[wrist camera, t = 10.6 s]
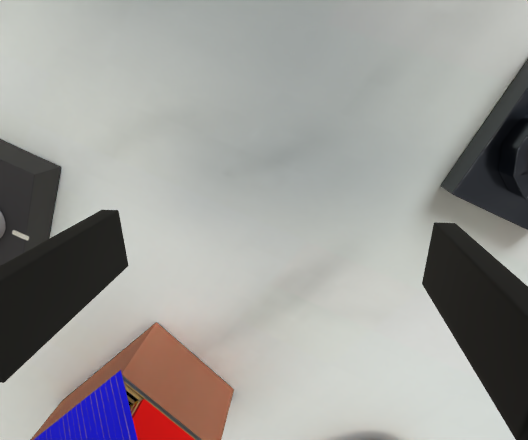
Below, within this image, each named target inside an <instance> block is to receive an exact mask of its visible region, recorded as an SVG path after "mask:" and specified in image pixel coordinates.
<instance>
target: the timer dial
mask: <svg viewBox="0 0 528 440" xmlns="http://www.w3.org/2000/svg"><path fill="white" fill-rule="evenodd" d="M4 232H5V220H4V217H3V215H2V213H1V211H0V238H1V237H2V236H3V234H4Z"/></svg>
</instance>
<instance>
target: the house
mask: <svg viewBox="0 0 528 440" xmlns="http://www.w3.org/2000/svg"><path fill="white" fill-rule="evenodd" d="M124 384H125V385H124ZM126 385H127V386H128V387H129V388H130V389H129V388H128V387H127V386H126ZM132 390H133V391H134V392H135V393H134V392H133V391H132ZM126 391H127V392H129V393H130V394H131V395H132V396H134V397H135V398H136V399H137V401H136V402H135V401H134V400H133V399H131V398H130V397H129V396H128V395H127V394H126ZM233 391H234V389H233V388H231V387H230V386H229V385H228V384H227V383H226V382H225V381H223V380H222V379H221V378H220V377H219V376H218V375H217V374H215V373H214V372H213V371H212V370H211V369H210V368H208V367H207V366H206V365H205V364H204V363H203V362H202V361H200V360H199V359H198V358H197V357H196V356H195V355H194V354H192V353H191V352H190V351H189V350H188V349H187V348H186V347H184V346H183V345H182V344H181V343H180V342H179V341H177V340H176V339H175V338H174V337H173V336H172V335H171V334H169V333H168V332H167V331H166V330H165V329H164V328H163V327H161V326H160V325H159V324H158V323H157V322H156V323H155V324H154V325H153V326H151V327H150V328H149V329H148V330H147V331H145V332H144V333H143V334H142V335H141V336H139V337H138V338H137V339H136V340H135V341H133V342H132V343H131V344H130V345H129V346H127V347H126V348H125V349H124V350H123V351H121V352H120V353H119V354H118V355H117V356H115V357H114V358H113V359H112V360H111V361H109V362H108V363H107V364H106V365H105V366H103V367H102V368H101V369H100V370H99V371H97V372H96V373H95V374H94V375H93V376H91V377H90V378H89V379H88V380H87V381H85V382H84V383H83V384H82V385H81V386H79V387H78V388H77V389H76V390H75V391H73V392H72V393H71V394H70V395H69V396H67V397H66V398H65V399H64V400H63V401H62V402H61V403H60V404H59V405H58V407H57V408H56V409H55V410H54V411H53V413H52V414H51V415H50V416H49V418H48V419H47V420H46V421H45V423H44V424H43V425H42V426H41V428H40V429H39V430H38V431H37V432H36V434H35V435H34V436H33V437H32V439H31V440H221V438H222V434H223V430H224V426H225V422H226V418H227V414H228V410H229V407H230V403H231V399H232V395H233ZM137 394H138V395H139V396H140V397H139V396H138V395H137ZM142 398H143V399H142ZM128 401H129V402H131V403H132V404H131V405H129V402H128ZM131 406H132V407H131Z"/></svg>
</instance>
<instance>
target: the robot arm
mask: <svg viewBox="0 0 528 440" xmlns="http://www.w3.org/2000/svg"><path fill="white" fill-rule="evenodd" d="M126 267H128V261H127V256H126V250H125V245H124V239H123V234H122V228H121V223H120V217H119V212H118V210H101V211H99V212H97V213H95V214H94V215H92V216H90V217H88V218H86V219H85V220H83V221H81V222H79V223H77V224H75V225H74V226H72V227H70V228H68V229H66V230H65V231H63V232H61V233H59V234H57V235H55V236H54V237H52V238H50V239H48V240H46V241H45V242H43V243H41V244H39V245H37V246H35V247H34V248H32V249H30V250H28V251H26V252H25V253H23V254H21V255H19V256H17V257H15V258H14V259H12V260H10V261H8V262H6V263H5V264H3V265H1V266H0V382H3V383H4V382H5V381H6V380H7V379H8V378H9V377H10V376H12V375H13V374H14V373H15V372H16V371H17V370H18V369H19V368H20V367H21V366H22V365H23V364H24V363H25V362H26V361H27V360H29V359H30V358H31V357H32V356H33V355H34V354H35V353H36V352H37V351H38V350H39V349H40V348H41V347H42V346H43V345H45V344H46V343H47V342H48V341H49V340H50V339H51V338H52V337H53V336H54V335H55V334H56V333H57V332H58V331H59V330H60V329H62V328H63V327H64V326H65V325H66V324H67V323H68V322H69V321H70V320H71V319H72V318H73V317H74V316H75V315H76V314H78V313H79V312H80V311H81V310H82V309H83V308H84V307H85V306H86V305H87V304H88V303H89V302H90V301H91V300H92V299H93V298H95V297H96V296H97V295H98V294H99V293H100V292H101V291H102V290H103V289H104V288H105V287H106V286H107V285H108V284H109V283H111V282H112V281H113V280H114V279H115V278H116V277H117V276H118V275H119V274H120V273H121V272H122V271H123V270H124V269H125V268H126ZM422 284H423V286H424V288H425V289H426V291H427V293H428V294H429V296H430V298H431V299H432V301H433V303H434V304H435V306H436V308H437V309H438V311H439V313H440V314H441V316H442V318H443V319H444V321H445V323H446V324H447V326H448V328H449V329H450V331H451V333H452V334H453V336H454V338H455V339H456V341H457V343H458V344H459V346H460V348H461V349H462V351H463V352H464V354H465V356H466V357H467V359H468V361H469V362H470V364H471V366H472V367H473V369H474V371H475V372H476V374H477V376H478V377H479V379H480V381H481V382H482V384H483V386H484V387H485V389H486V391H487V392H488V394H489V396H490V397H491V399H492V401H493V402H494V404H495V406H496V407H497V409H498V411H499V412H500V414H501V416H502V417H503V419H504V421H505V422H506V424H507V426H508V427H509V429H510V431H511V432H512V434H513V436H514V437H515V439H516V440H528V286H526V285H525V284H524V283H523V282H522V281H521V280H520V279H518V278H517V277H516V276H515V275H514V274H513V273H511V272H510V271H509V270H508V269H507V268H506V267H505V266H503V265H502V264H501V263H500V262H499V261H498V260H497V259H495V258H494V257H493V256H492V255H491V254H490V253H489V252H487V251H486V250H485V249H484V248H483V247H482V246H481V245H479V244H478V243H477V242H476V241H475V240H474V239H473V238H471V237H470V236H469V235H468V234H467V233H466V232H464V231H463V230H462V229H461V228H460V227H459V226H458V225H456V224H455V223H434V226H433V231H432V236H431V241H430V246H429V251H428V257H427V262H426V267H425V272H424V277H423V282H422Z"/></svg>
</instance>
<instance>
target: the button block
mask: <svg viewBox="0 0 528 440" xmlns="http://www.w3.org/2000/svg"><path fill="white" fill-rule="evenodd" d="M441 187H443V188H444V189H445V190H447V191H448V192H450V193H451V194H453V195H455V196H457V197H459V198H461V199H464V200H466V201H468V202H470V203H472V204H474V205H476V206H478V207H481V208H483V209H485V210H487V211H489V212H491V213H493V214H495V215H498V216H500V217H502V218H504V219H506V220H508V221H510V222H512V223H515V224H517V225H519V226H521V227H523V228H525V229H527V230H528V60H527V61H526V63H525V64H524V66H523V67H522V69H521V70H520V72H519V73H518V74H517V76H516V77H515V79H514V80H513V82H512V83H511V85H510V86H509V87H508V89H507V90H506V92H505V93H504V95H503V96H502V98H501V99H500V100H499V102H498V103H497V105H496V106H495V108H494V109H493V111H492V112H491V113H490V115H489V116H488V118H487V119H486V121H485V122H484V124H483V125H482V126H481V128H480V129H479V131H478V132H477V134H476V135H475V137H474V138H473V139H472V141H471V142H470V144H469V145H468V147H467V148H466V150H465V151H464V153H463V154H462V155H461V157H460V158H459V160H458V161H457V163H456V164H455V166H454V167H453V168H452V170H451V171H450V173H449V174H448V176H447V177H446V179H445V180H444V181H443V183H442V184H441Z"/></svg>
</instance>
